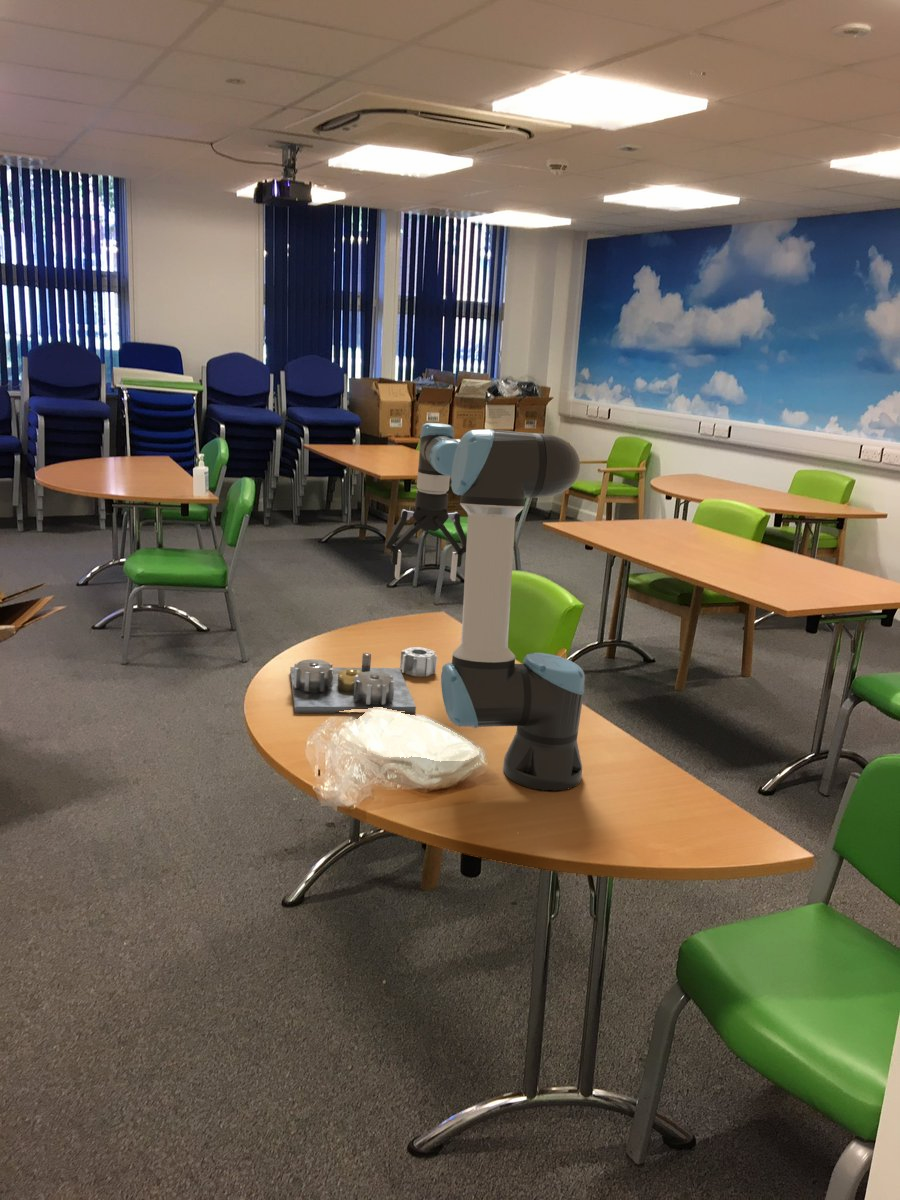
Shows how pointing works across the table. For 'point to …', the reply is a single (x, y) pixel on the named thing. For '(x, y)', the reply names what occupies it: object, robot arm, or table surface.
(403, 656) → the planet gear
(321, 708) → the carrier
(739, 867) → the table surface
